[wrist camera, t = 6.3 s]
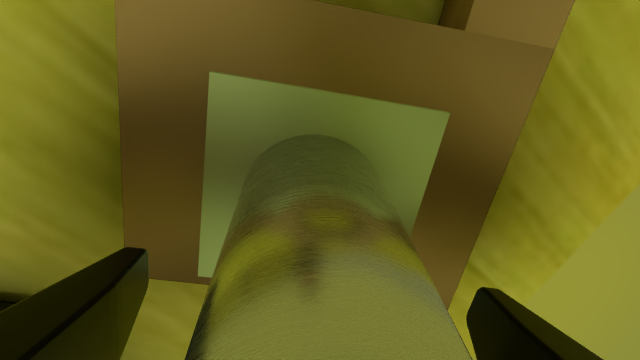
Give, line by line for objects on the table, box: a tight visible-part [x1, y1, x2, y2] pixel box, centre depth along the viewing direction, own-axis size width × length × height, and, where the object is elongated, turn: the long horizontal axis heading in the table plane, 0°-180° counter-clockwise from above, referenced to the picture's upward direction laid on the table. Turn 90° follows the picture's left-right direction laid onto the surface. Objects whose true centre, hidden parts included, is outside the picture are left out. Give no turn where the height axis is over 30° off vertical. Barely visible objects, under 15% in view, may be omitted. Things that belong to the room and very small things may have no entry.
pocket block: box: [115, 0, 575, 310], centre depth 11 cm, size 18×12×2 cm, turn 170°
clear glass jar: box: [185, 134, 472, 360], centre depth 8 cm, size 4×4×9 cm
